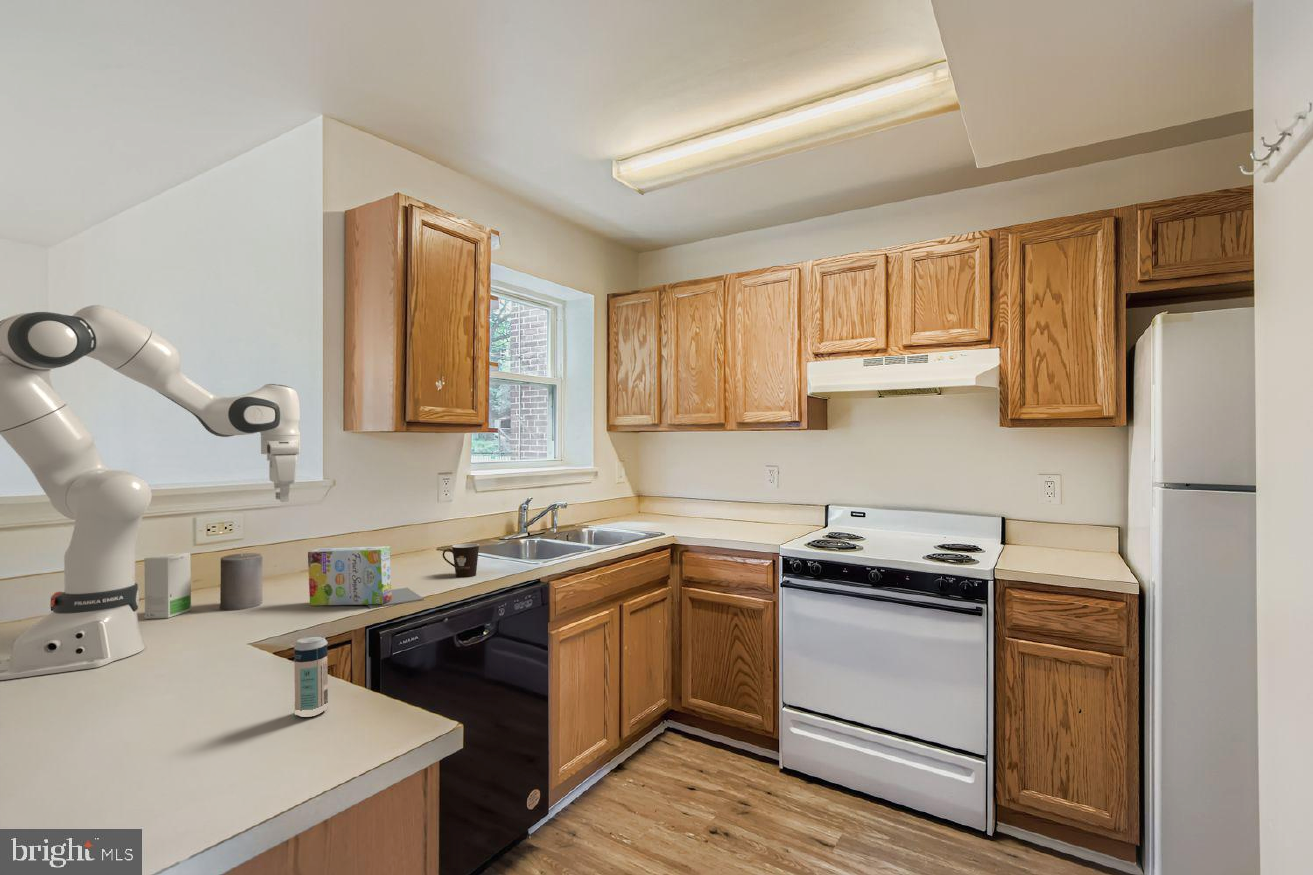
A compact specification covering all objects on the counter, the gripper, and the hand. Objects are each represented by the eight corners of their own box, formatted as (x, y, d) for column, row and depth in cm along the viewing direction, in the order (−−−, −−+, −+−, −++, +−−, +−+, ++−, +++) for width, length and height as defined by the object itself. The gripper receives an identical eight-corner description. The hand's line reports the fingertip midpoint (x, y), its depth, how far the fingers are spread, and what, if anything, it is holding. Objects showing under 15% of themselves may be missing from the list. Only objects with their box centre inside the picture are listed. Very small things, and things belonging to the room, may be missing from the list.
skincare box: (168, 618, 156) (167, 557, 156) (142, 619, 156) (141, 558, 156) (192, 610, 164) (192, 552, 164) (168, 610, 164) (167, 552, 164)
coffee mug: (485, 574, 204) (484, 544, 205) (464, 579, 197) (464, 548, 197) (461, 570, 211) (461, 541, 211) (440, 575, 203) (440, 545, 203)
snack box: (393, 599, 170) (390, 545, 170) (382, 605, 164) (379, 549, 164) (321, 600, 172) (319, 547, 172) (308, 606, 166) (305, 551, 166)
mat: (370, 608, 163) (370, 606, 163) (356, 596, 177) (356, 594, 177) (423, 599, 172) (423, 598, 172) (407, 588, 185) (407, 587, 185)
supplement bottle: (321, 704, 103) (320, 632, 103) (333, 711, 99) (332, 637, 100) (289, 714, 99) (288, 639, 99) (301, 722, 96) (300, 645, 96)
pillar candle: (212, 607, 166) (212, 552, 166) (250, 599, 175) (250, 547, 175) (232, 612, 162) (232, 555, 162) (270, 603, 170) (270, 549, 170)
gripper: (262, 447, 165) (263, 498, 165) (271, 447, 149) (272, 504, 149) (289, 447, 169) (290, 496, 169) (300, 446, 153) (301, 502, 153)
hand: (281, 500), depth 159 cm, fingers open, 8 cm apart
